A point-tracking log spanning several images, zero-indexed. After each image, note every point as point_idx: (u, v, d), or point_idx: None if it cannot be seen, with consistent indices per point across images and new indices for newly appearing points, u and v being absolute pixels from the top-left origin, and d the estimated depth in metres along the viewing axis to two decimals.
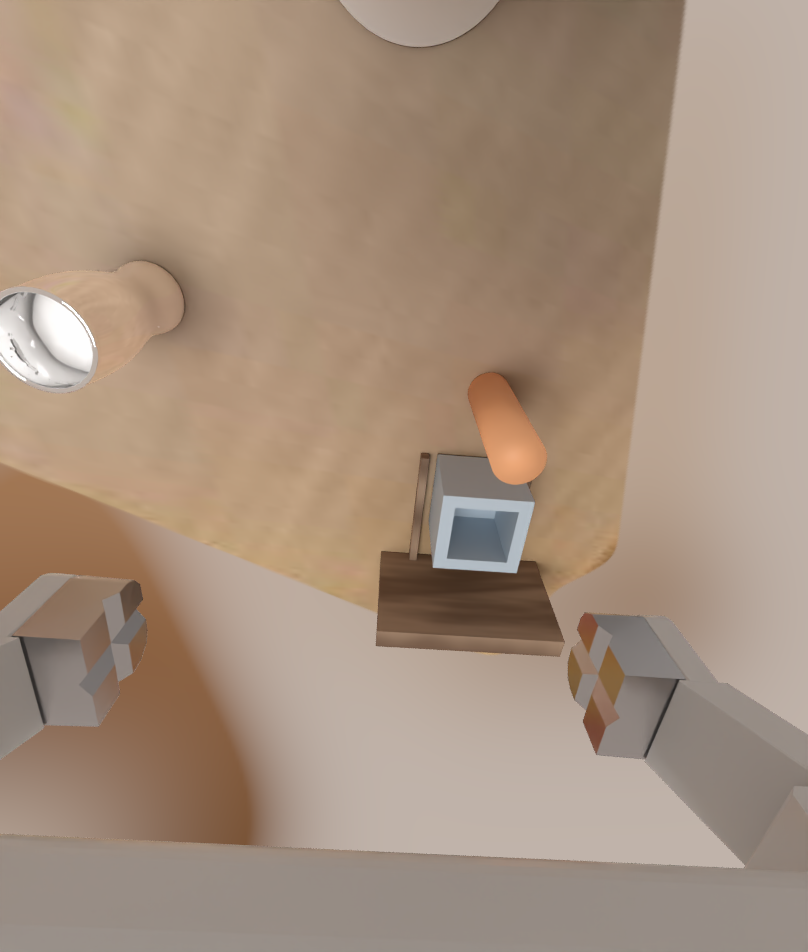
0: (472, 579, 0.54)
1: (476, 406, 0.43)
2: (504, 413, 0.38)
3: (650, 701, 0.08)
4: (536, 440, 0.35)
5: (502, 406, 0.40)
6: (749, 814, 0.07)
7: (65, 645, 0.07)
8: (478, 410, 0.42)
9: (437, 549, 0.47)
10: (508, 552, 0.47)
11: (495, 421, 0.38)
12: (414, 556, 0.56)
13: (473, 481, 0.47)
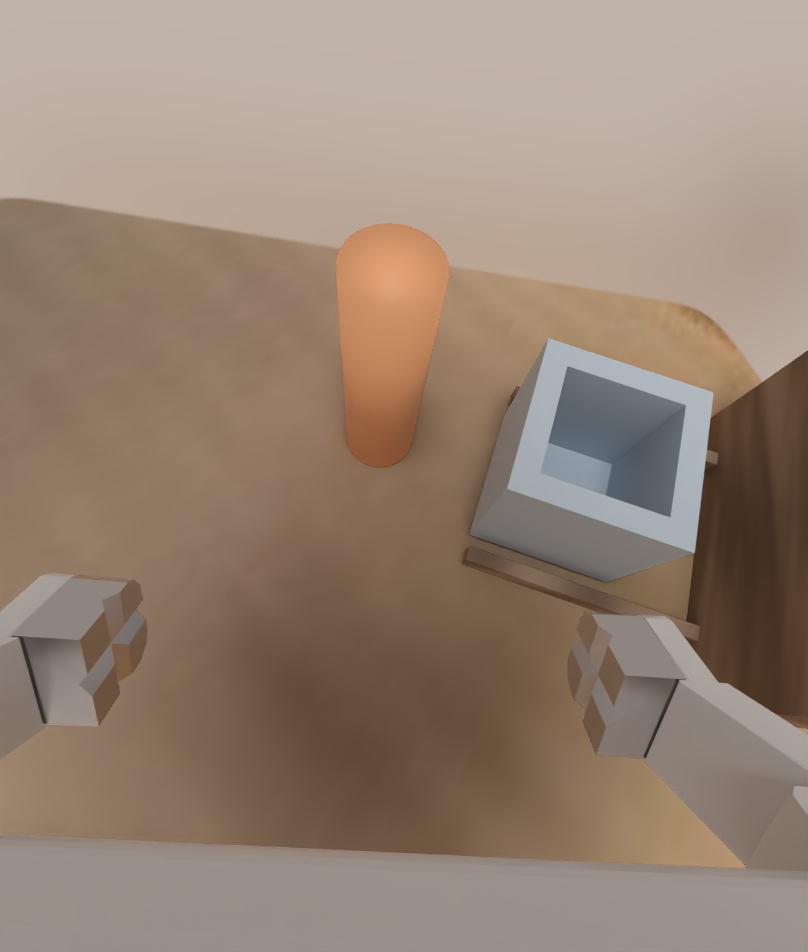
0: (743, 510, 0.26)
1: (361, 423, 0.25)
2: None
3: (650, 701, 0.08)
4: (357, 233, 0.18)
5: None
6: (749, 814, 0.07)
7: (65, 645, 0.07)
8: (360, 413, 0.24)
9: (643, 531, 0.21)
10: (662, 398, 0.23)
11: (343, 343, 0.20)
12: (689, 627, 0.27)
13: (506, 453, 0.25)
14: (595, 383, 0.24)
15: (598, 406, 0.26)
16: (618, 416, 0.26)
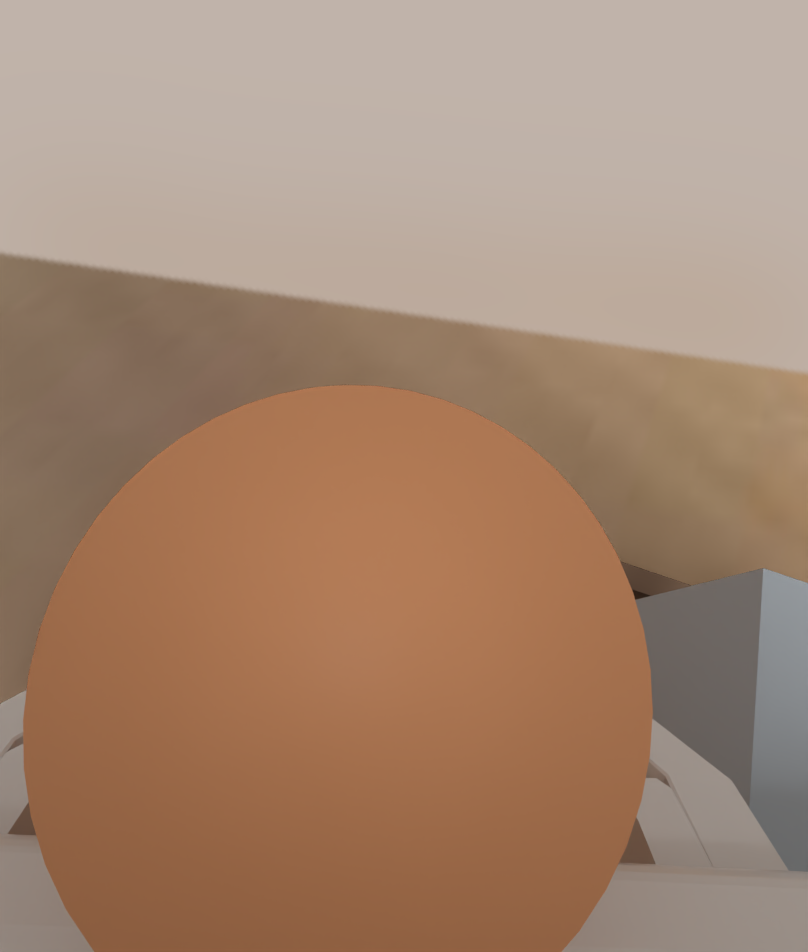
0: None
1: None
2: None
3: None
4: (182, 448, 0.04)
5: None
6: None
7: None
8: None
9: None
10: None
11: None
12: None
13: None
14: None
15: None
16: None
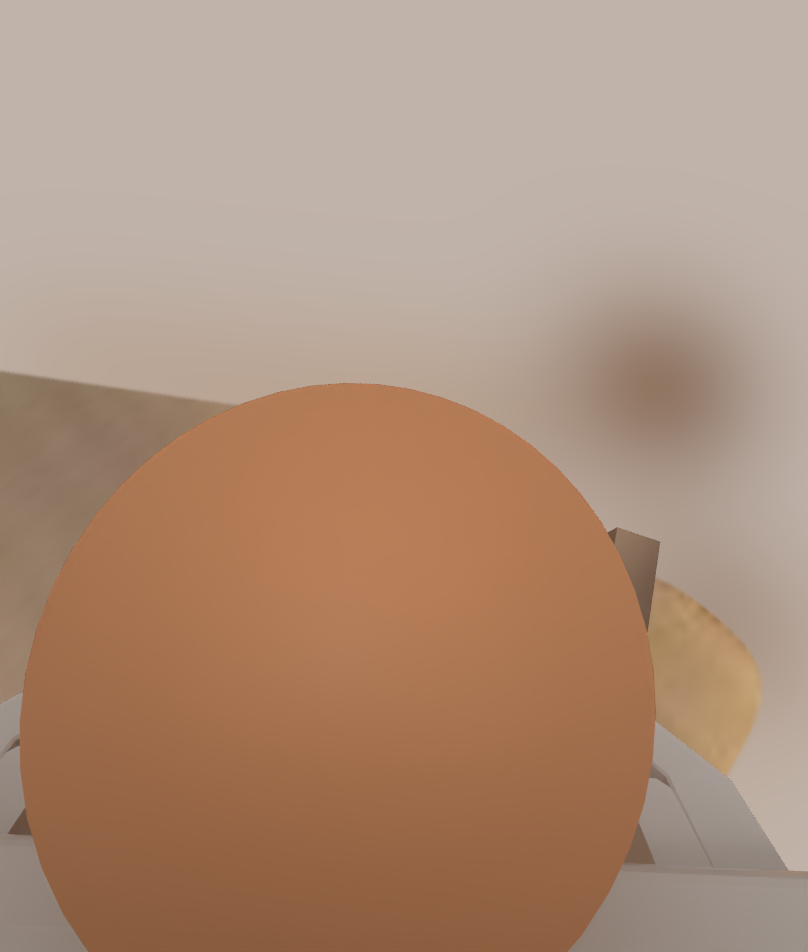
0: None
1: None
2: None
3: None
4: (181, 447, 0.04)
5: None
6: None
7: None
8: None
9: None
10: None
11: None
12: None
13: None
14: None
15: None
16: None
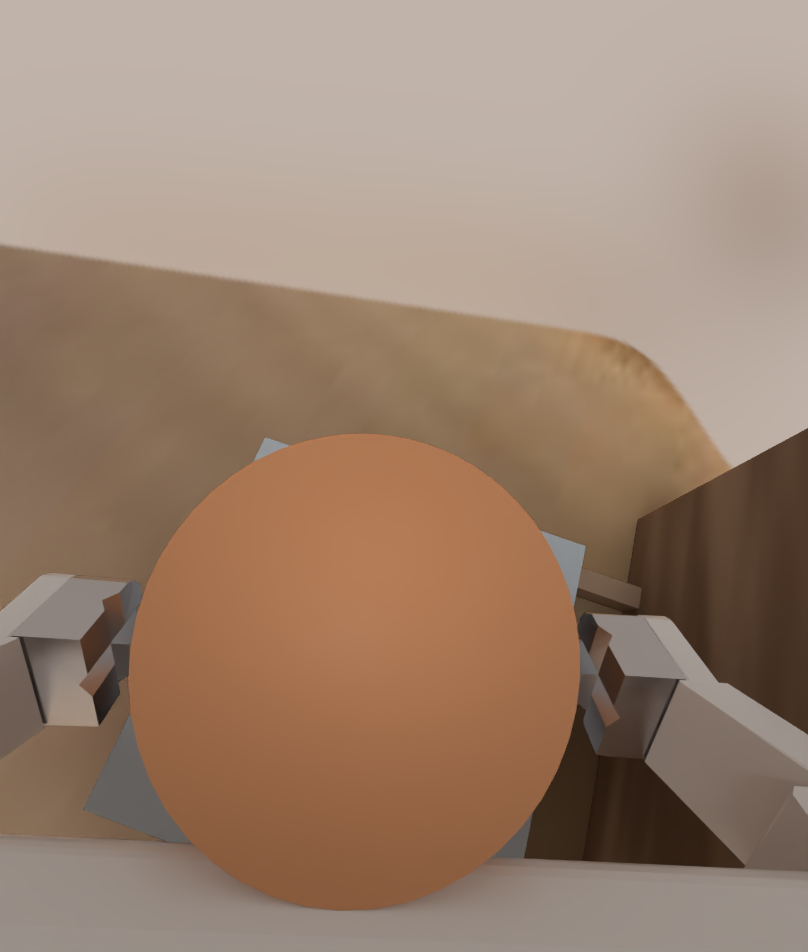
0: None
1: None
2: None
3: (650, 701, 0.08)
4: (234, 483, 0.05)
5: None
6: (749, 814, 0.07)
7: (65, 645, 0.07)
8: None
9: None
10: None
11: None
12: None
13: None
14: None
15: None
16: None
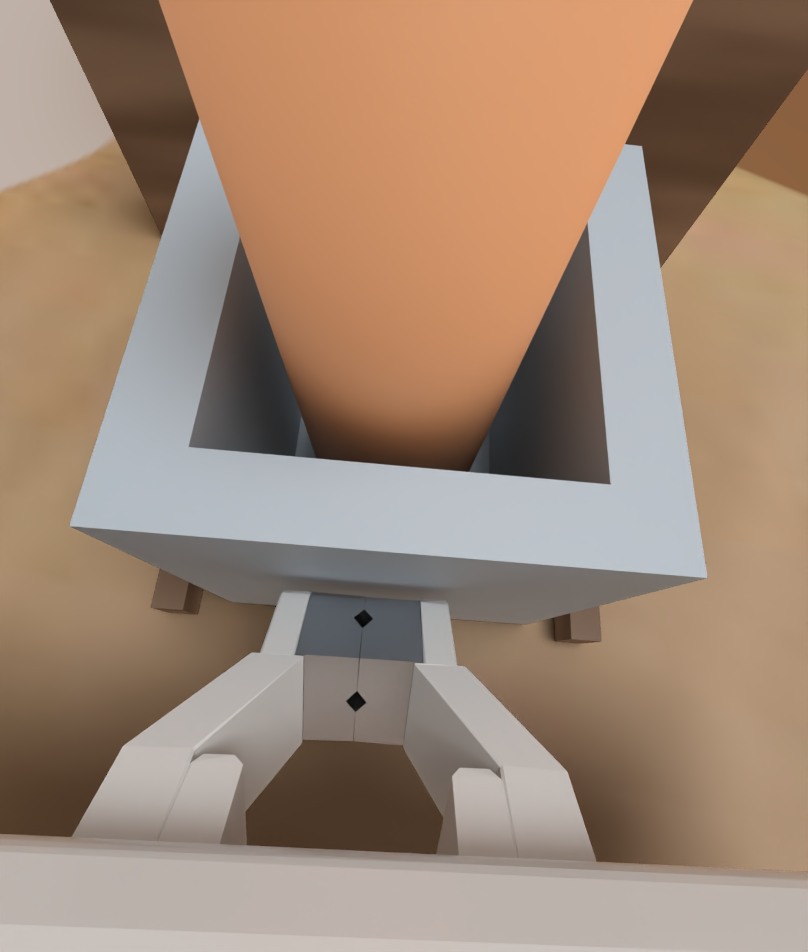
0: None
1: None
2: (457, 305, 0.05)
3: (393, 685, 0.07)
4: None
5: (430, 387, 0.06)
6: None
7: (343, 664, 0.07)
8: None
9: (644, 233, 0.09)
10: None
11: (554, 227, 0.04)
12: None
13: (445, 590, 0.09)
14: (224, 366, 0.08)
15: (256, 374, 0.10)
16: (269, 332, 0.10)
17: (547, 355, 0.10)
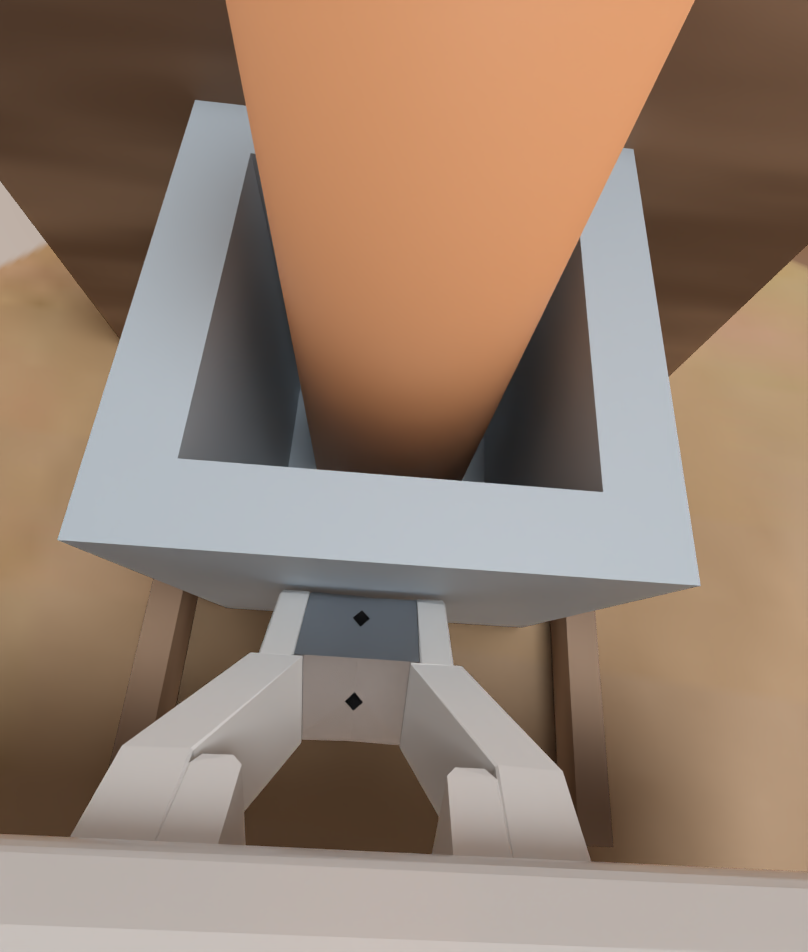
0: None
1: None
2: (485, 251, 0.05)
3: (389, 685, 0.07)
4: None
5: (446, 351, 0.06)
6: None
7: (342, 663, 0.07)
8: None
9: (636, 237, 0.09)
10: (240, 205, 0.08)
11: (582, 172, 0.04)
12: None
13: (440, 597, 0.09)
14: (213, 375, 0.08)
15: (247, 381, 0.10)
16: (260, 338, 0.10)
17: (539, 359, 0.10)
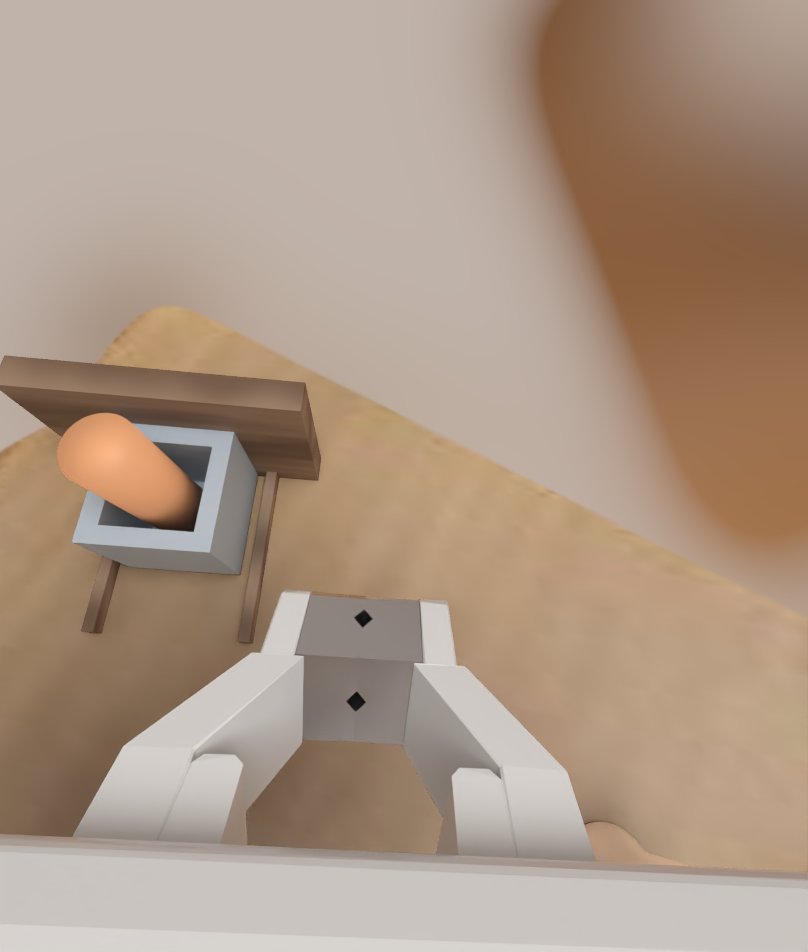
0: None
1: (193, 511, 0.33)
2: (133, 507, 0.28)
3: (392, 685, 0.08)
4: (66, 474, 0.25)
5: (142, 514, 0.30)
6: None
7: (343, 664, 0.07)
8: (187, 507, 0.32)
9: (225, 462, 0.33)
10: None
11: (143, 500, 0.28)
12: (269, 477, 0.40)
13: (175, 558, 0.33)
14: (109, 502, 0.32)
15: None
16: None
17: None
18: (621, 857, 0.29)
